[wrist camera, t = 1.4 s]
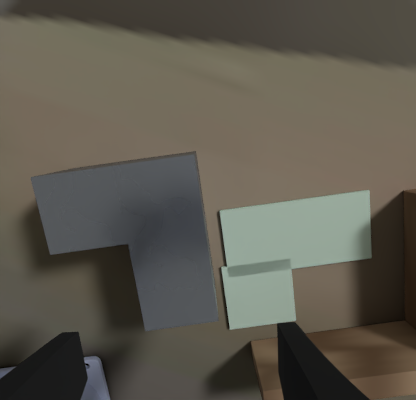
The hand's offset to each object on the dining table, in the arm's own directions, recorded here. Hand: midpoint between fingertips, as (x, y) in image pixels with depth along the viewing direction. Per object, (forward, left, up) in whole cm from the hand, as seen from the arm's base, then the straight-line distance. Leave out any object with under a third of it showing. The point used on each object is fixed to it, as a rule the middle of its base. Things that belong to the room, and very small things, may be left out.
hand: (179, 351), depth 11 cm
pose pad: (+7, -2, -10) cm, 12 cm away
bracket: (-3, +2, -10) cm, 11 cm away
